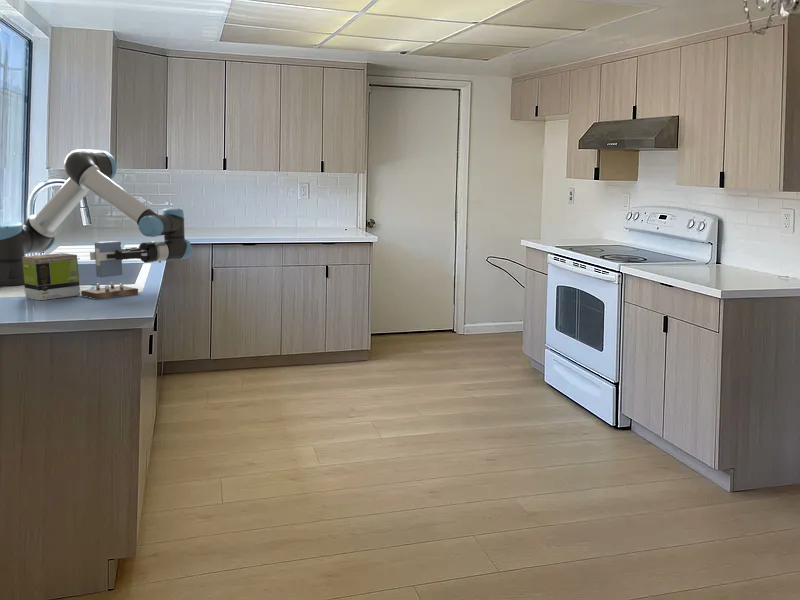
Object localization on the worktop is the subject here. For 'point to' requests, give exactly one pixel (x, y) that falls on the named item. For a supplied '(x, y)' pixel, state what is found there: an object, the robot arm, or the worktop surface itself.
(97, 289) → the dock pins
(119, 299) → the worktop surface
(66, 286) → the tea box
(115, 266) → the block
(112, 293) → the dock
